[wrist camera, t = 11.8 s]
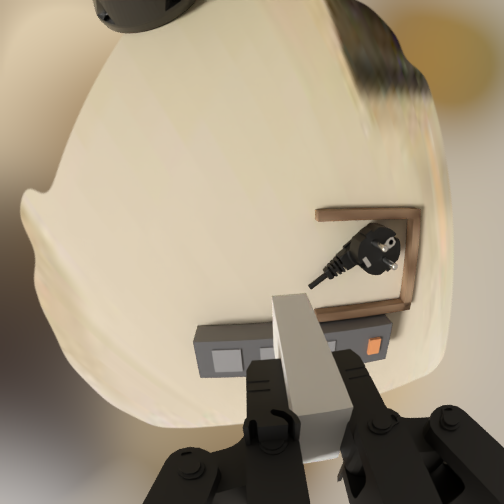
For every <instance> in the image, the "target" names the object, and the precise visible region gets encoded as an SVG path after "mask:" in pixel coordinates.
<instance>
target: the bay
mask: <svg viewBox="0 0 504 504" xmlns="http://www.w3.org/2000/svg"><path fill="white" fill-rule="evenodd" d="M315 219H316V220H317V221H318V222H324V221H348V220H378V219H407V235H406V248H405V259H404V268H403V277H402V285H401V292H400V298H399V299H393V300H386V301H378V302H371V303H363V304H355V305H347V306H338V307H328V308H319V309H314V313H315V315H316V317H317V320H318V322H326V321H334V320H343V319H351V318H358V317H365V316H372V315H379V314H385V313H392V312H398V311H404V310H409V309H410V306H411V300H412V294H413V288H414V281H415V274H416V266H417V257H418V247H419V235H420V220H421V209H417V208H349V209H317V210H315Z"/></svg>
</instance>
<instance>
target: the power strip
mask: <svg viewBox="0 0 504 504" xmlns="http://www.w3.org/2000/svg"><path fill="white" fill-rule="evenodd" d="M319 324H320V327H321V329H322V331H323V334H324V336H325V338H326V341H327V343H328V346H329V348H330V350H331V352H332V351H339V350H346V349H351V350H352V351H354V352H355V353H356V354H358V355H359V356H360V357H361V359H362V361H363V363H367V362H372V361H377V360H382V359H385V358H386V353H387V349H388V344H389V339H390V334H391V329H392V324H393V323H392V322H391V321H390V320H389V319H388V318H387V317H386V315H385V314H379V315H372V316H365V317H358V318H351V319H343V320H334V321H326V322H319ZM193 344H194V349H195V354H196V359H197V364H198V369H199V373H200V378H221V377H246V370H247V368H248V367H249V365H250V363H251V361H252V360H265V359H275V353H274V346H273V322H269V323H253V324H235V325H211V326H198V327H197V330H196V334H195V337H194V341H193Z"/></svg>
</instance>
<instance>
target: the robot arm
mask: <svg viewBox="0 0 504 504" xmlns="http://www.w3.org/2000/svg"><path fill="white" fill-rule="evenodd" d="M194 2H195V0H93V3H94V7H95V11H96V14H97V16H98V18H99V19H100V20H101V21H102V22H103V23H104V24H105V25H106V26H107V27H108V28H110V29H111V30H114V31H116V32H120V33H137V32H143V31H147V30H151V29H154V28H156V27H159V26H161V25H164V24H166V23H168V22H170V21H171V20H173V19H175V18H176V17H178V16H179V15H181V14H182V13H183V12H185V11H186V10H187V9H188V8H189V7H190V6H191V5H192V4H193V3H194ZM272 315H273V346H274V353H275V359H265V360H252V361H251V363H250V365H249V367H248V368H247V370H246V391H247V393H246V394H247V418H246V419H245V421H244V425H243V432H244V437H243V438H242V439H241V440H240V441H239V442H238V443H237V444H235V445H234V446H232V447H229V448H227V449H223V450H219V451H216V452H212V453H209V452H208V451H206V450H203V449H201V448H194V447H187V448H183V449H179V450H177V451H176V452H174V453H172V454H171V455H170V456H169V457H168V459H167V460H166V461H165V463H164V465H163V467H162V469H161V471H160V472H159V475H158V476H157V478H156V480H155V482H154V484H153V486H152V487H151V489H150V491H149V493H148V495H147V497H146V499H145V500H144V502H143V504H310V499H309V494H308V488H307V482H306V477H305V471H304V465H303V463H310V462H316V461H322V460H328V459H333V458H337V457H338V455H339V452H340V451H341V454H342V458H343V464H342V466H341V469H340V471H339V474H338V481H341V479H342V477H343V480H344V483H345V487H346V491H347V495H348V499H349V503H350V504H504V448H503V447H502V446H501V445H500V444H499V443H498V442H497V441H496V440H495V439H494V438H493V437H492V436H491V435H489V433H488V432H486V431H485V430H484V429H483V428H482V427H481V426H480V425H479V424H478V423H477V422H476V421H474V420H473V419H472V418H471V417H470V416H469V415H468V414H467V413H466V412H465V411H464V410H462V409H460V408H459V407H457V406H453V405H443V406H441V407H438V408H436V410H434V411H433V413H432V414H431V416H430V417H426V418H404V417H401V416H400V415H399V414H398V413H397V412H395V411H393V410H392V409H389V408H387V407H386V406H385V404H384V402H383V400H382V398H381V396H380V394H379V392H378V390H377V388H376V386H375V384H374V382H373V380H372V378H371V376H369V373H368V371H367V369H366V368H365V365H364V363H363V361H362V359H361V357H360V356H359V355H358V354H356V353H355V352H354V351H352V350H351V349H346V350H339V351H332V352H331V350H330V348H329V346H328V343H327V341H326V338H325V336H324V334H323V331H322V329H321V327H320V324H319V322H318V320H317V317H316V315H315V313H314V310H313V308H312V306H311V303H310V301H309V299H308V296H307V294H306V293H302V294H291V295H278V296H272Z"/></svg>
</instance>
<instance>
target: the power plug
mask: <svg viewBox="0 0 504 504" xmlns="http://www.w3.org/2000/svg"><path fill="white" fill-rule="evenodd" d="M395 235H396V233H395V232H394V231H393V230H391V229H389V228H387V227H385V226H382V225H380V224H378V223H369V224H368V225H367V226H366V227H364V228H363V229H361V230H360V231H359V232H358V233H357V234H356V235H355V236H353V237H352V239H351V240H350V241H349V242H348V243H346V244H345V245H344V246H343V249H342V250H341V251H340V252H339V253H337V254H336V256H337V257H338V259H339V260H338V259H337V258H336V257H334V258H333V259H334V260H331V261H330V262H331V263H332V266H331V265H330V264H329V263H328V264H327V265H328V266H327V267H326V266H325V268H324V269H323V271H324V274H322V275H321V276H320V277H318V278H317V279H316V280H315V281H313V282H312V283H311V284H309V285H308V286H309V288H310V289H313V288H314V287H315V286H317V285H318V284H319V283H321V282H322V281H323V280H324V279H326V278H327V277H328V278H329V279H333V278H334V276H338V275H337V273H336V271H337V272H338V273H339V274H342V273H341V272H346V271H345V269H344V268H343V267H345V268H346V269H347V270H349V269H351V268H353V267H354V266H355V265H359V266H360V267H361V268H362V269H363V270H365V271H366V272H367V273H369V274H372V275H381V274H382V273H383V272H384V271H385V270H386V271H387V272H388V271H389V270H390V269H393V270H396V269H397V268H398V265H397V264H396V263H395V262H396V261H397V260H398V258H399V255H400V241H399V239H398V238H396V237H394V236H395Z"/></svg>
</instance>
